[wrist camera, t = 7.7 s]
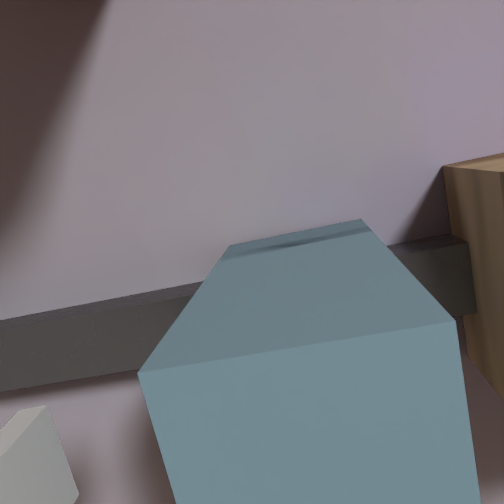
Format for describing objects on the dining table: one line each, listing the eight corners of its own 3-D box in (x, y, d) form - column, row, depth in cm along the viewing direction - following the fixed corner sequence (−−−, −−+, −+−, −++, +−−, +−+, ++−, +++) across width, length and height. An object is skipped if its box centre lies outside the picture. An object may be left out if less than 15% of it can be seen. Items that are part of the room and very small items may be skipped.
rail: (-8, 377, 23) (-35, 397, 22) (-27, 325, 23) (-57, 341, 21) (460, 297, 20) (477, 312, 18) (451, 233, 19) (468, 242, 17)
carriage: (257, 364, 21) (210, 617, 10) (229, 245, 20) (136, 373, 9) (382, 343, 21) (493, 595, 9) (360, 218, 19) (455, 320, 8)
